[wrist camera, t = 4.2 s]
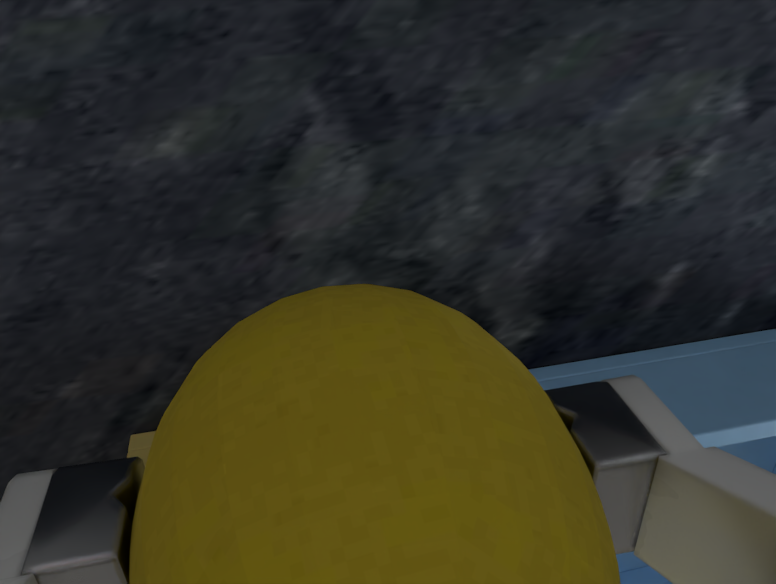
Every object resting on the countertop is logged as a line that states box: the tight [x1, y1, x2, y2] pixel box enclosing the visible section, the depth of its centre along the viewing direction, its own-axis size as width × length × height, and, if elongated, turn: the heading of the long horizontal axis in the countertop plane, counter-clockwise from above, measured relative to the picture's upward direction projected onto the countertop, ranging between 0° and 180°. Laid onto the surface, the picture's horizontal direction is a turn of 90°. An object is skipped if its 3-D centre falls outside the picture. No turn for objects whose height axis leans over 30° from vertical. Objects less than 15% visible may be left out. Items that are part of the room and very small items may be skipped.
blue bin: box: [529, 329, 776, 584], centre depth 20 cm, size 10×10×4 cm
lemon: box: [130, 284, 621, 584], centre depth 8 cm, size 6×6×8 cm
